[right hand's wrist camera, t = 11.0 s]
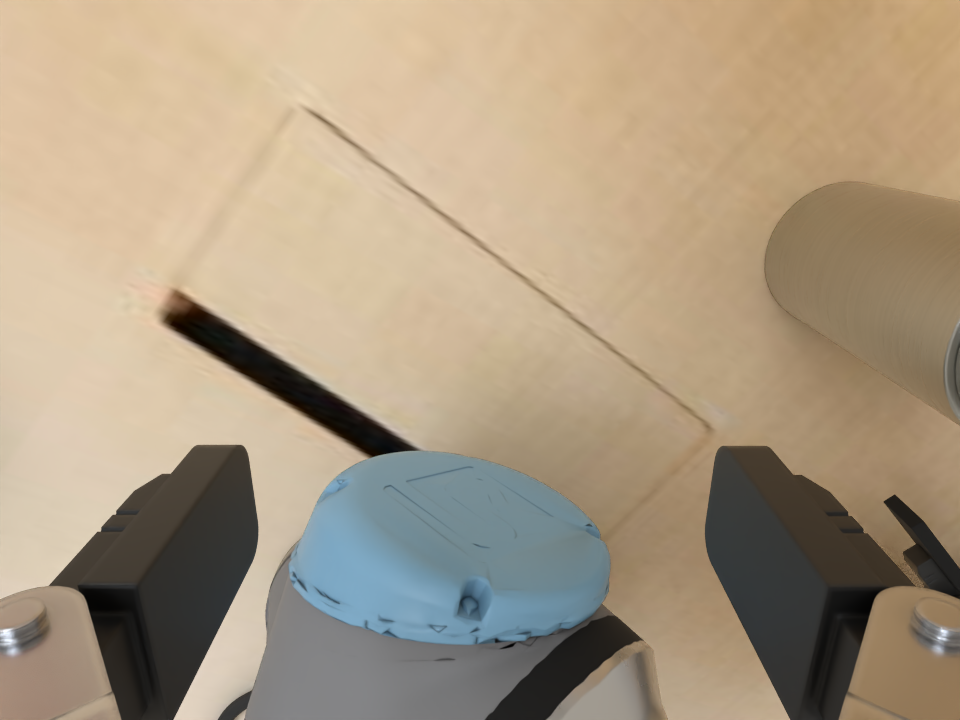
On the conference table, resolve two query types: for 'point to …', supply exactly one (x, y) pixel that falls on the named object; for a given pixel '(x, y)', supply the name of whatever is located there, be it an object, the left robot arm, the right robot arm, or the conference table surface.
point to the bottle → (877, 281)
